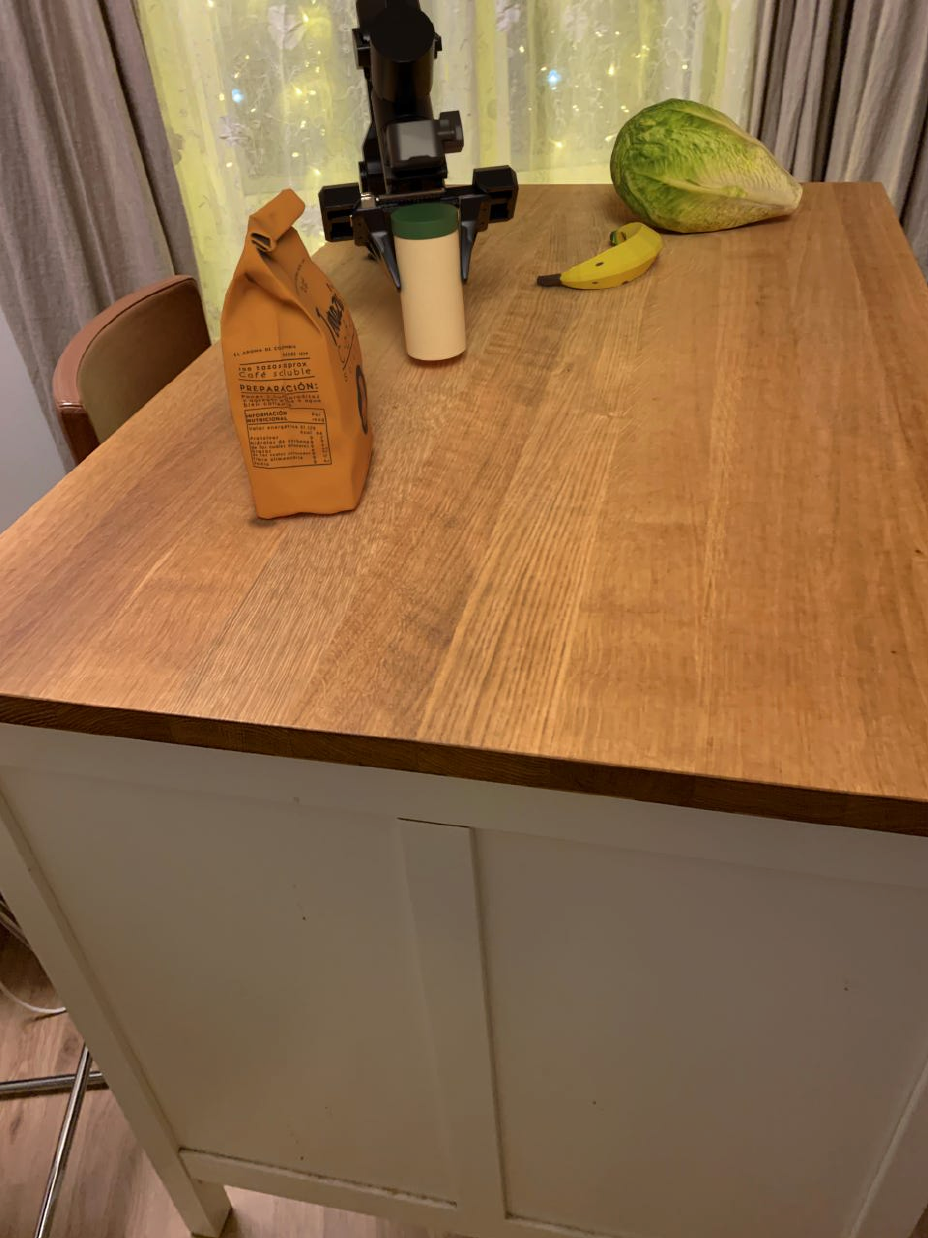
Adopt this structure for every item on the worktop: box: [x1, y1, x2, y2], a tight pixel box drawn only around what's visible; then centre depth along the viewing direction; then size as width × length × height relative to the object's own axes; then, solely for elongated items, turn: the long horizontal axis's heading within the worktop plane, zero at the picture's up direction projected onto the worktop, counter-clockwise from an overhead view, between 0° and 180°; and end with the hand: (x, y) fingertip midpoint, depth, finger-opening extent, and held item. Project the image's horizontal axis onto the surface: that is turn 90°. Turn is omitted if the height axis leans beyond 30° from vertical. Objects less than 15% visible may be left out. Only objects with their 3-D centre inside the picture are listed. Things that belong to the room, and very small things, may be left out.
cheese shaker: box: [391, 203, 468, 361], centre depth 93 cm, size 6×6×13 cm
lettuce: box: [609, 97, 804, 234], centre depth 124 cm, size 15×25×16 cm
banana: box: [535, 221, 664, 290], centre depth 117 cm, size 5×17×15 cm
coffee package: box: [219, 188, 374, 520], centre depth 74 cm, size 10×12×22 cm
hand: (432, 286), depth 92 cm, fingers closed on cheese shaker, 6 cm apart
